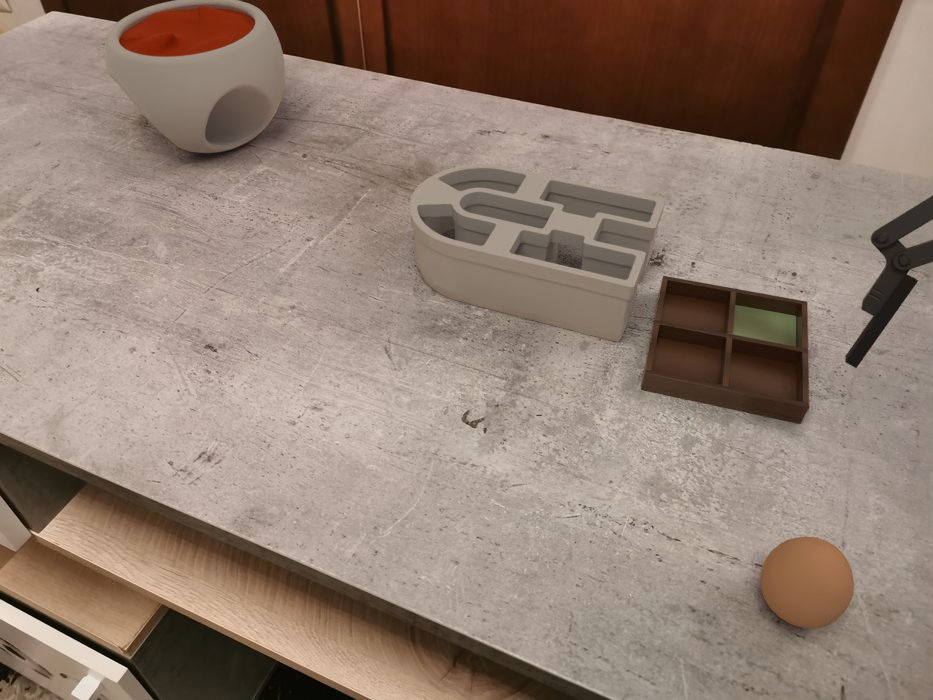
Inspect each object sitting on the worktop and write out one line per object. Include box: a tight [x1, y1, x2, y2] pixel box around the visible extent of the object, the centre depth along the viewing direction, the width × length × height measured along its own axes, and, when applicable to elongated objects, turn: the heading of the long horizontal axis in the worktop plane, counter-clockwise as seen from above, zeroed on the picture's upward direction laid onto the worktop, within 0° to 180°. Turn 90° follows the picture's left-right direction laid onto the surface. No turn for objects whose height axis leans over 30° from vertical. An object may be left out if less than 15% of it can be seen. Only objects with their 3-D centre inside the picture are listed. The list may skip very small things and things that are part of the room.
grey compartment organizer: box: [409, 163, 666, 343], centre depth 86 cm, size 17×28×9 cm, turn 68°
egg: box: [759, 536, 855, 629], centre depth 56 cm, size 6×6×8 cm
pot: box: [104, 0, 286, 154], centre depth 106 cm, size 24×24×18 cm
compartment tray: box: [640, 275, 810, 425], centre depth 78 cm, size 16×16×3 cm
